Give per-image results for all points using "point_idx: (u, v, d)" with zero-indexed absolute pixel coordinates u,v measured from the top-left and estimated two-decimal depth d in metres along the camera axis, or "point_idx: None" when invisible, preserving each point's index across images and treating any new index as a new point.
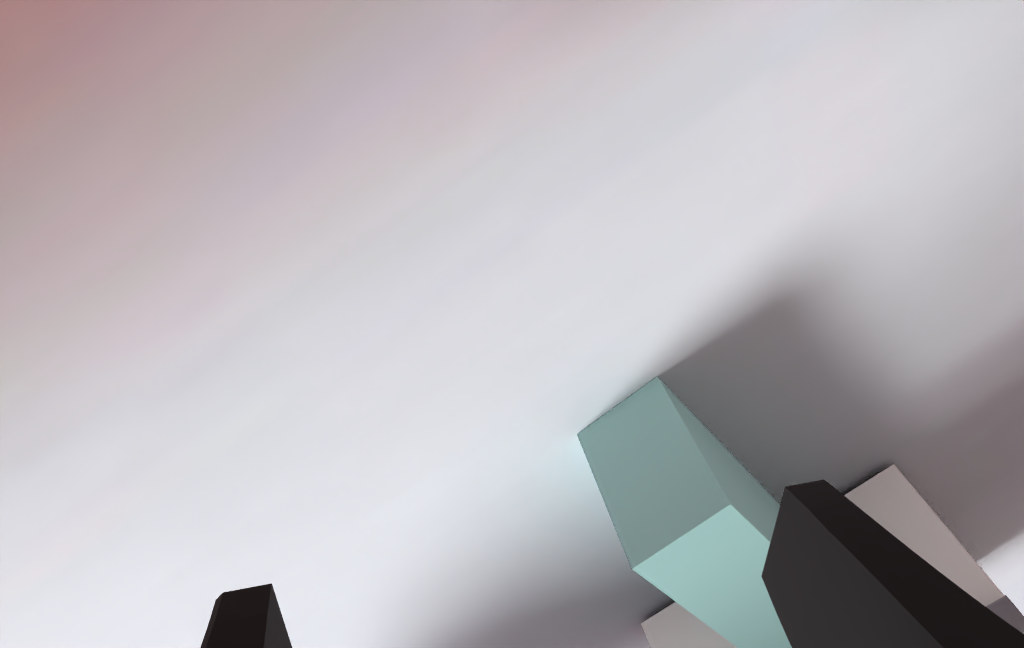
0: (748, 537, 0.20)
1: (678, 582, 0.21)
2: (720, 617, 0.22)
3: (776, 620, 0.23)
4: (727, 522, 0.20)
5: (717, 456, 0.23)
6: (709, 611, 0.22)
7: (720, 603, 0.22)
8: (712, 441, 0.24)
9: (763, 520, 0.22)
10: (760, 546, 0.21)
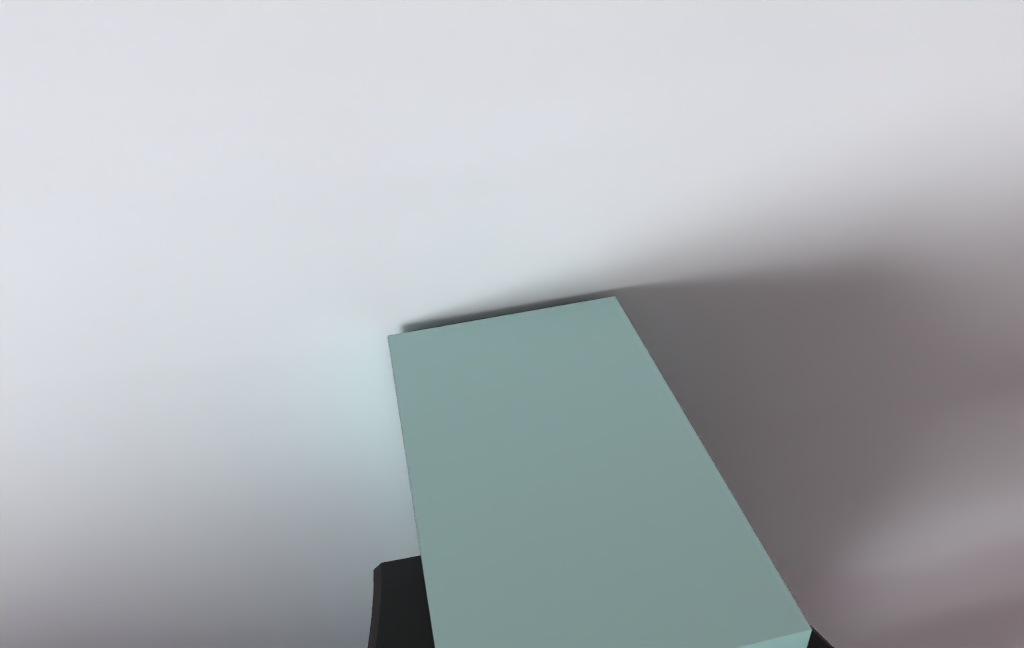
0: None
1: None
2: None
3: None
4: None
5: None
6: None
7: None
8: None
9: None
10: None
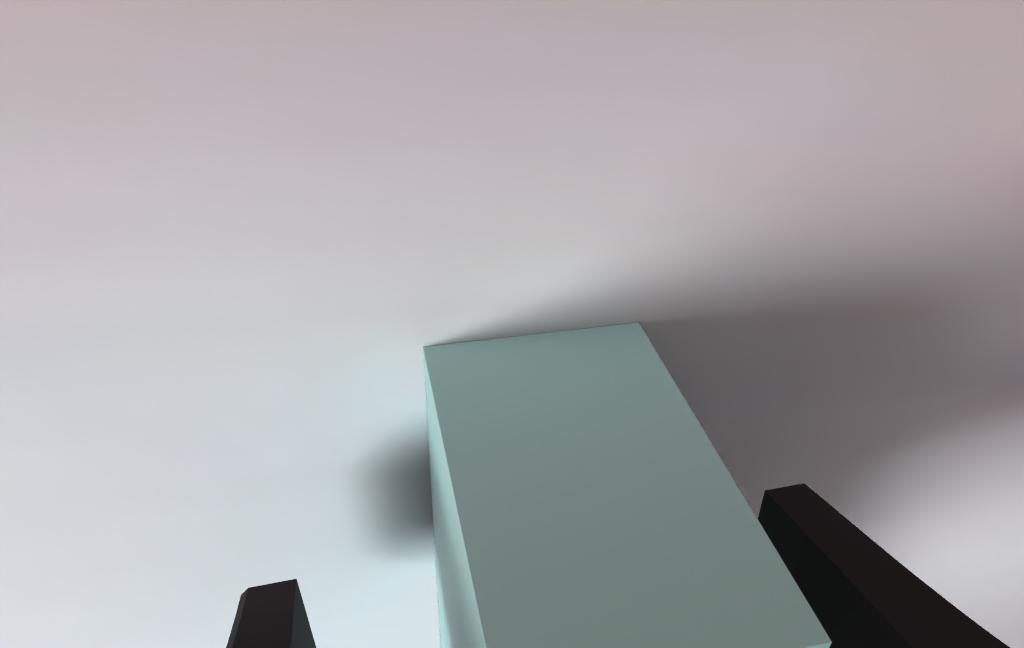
0: None
1: None
2: None
3: None
4: None
5: None
6: None
7: None
8: None
9: None
10: None
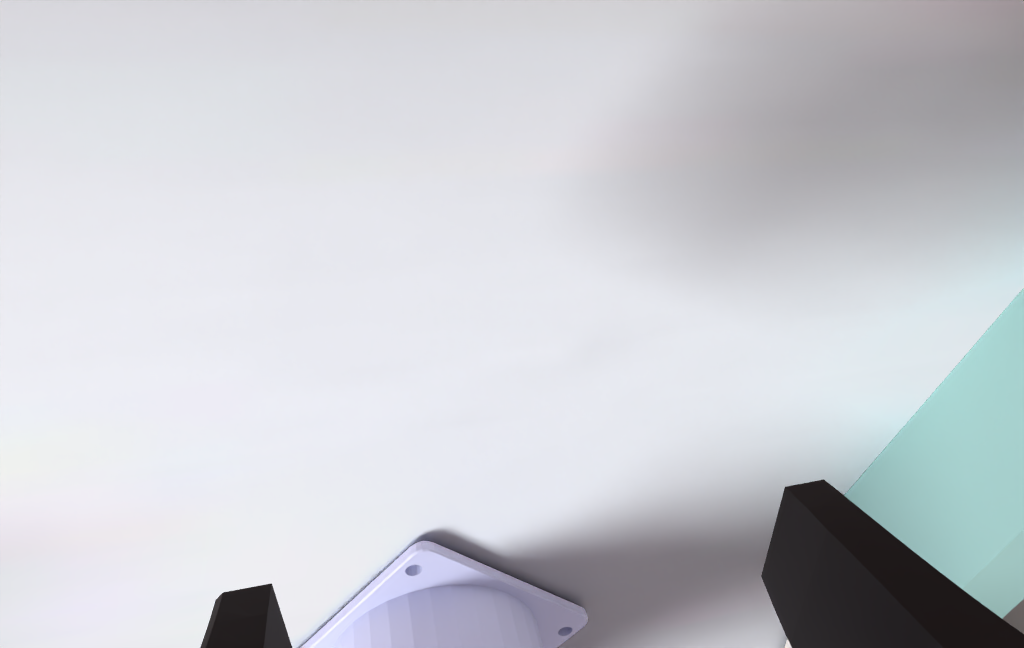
0: None
1: None
2: None
3: None
4: None
5: None
6: None
7: None
8: None
9: None
10: None
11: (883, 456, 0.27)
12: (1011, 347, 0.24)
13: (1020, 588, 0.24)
